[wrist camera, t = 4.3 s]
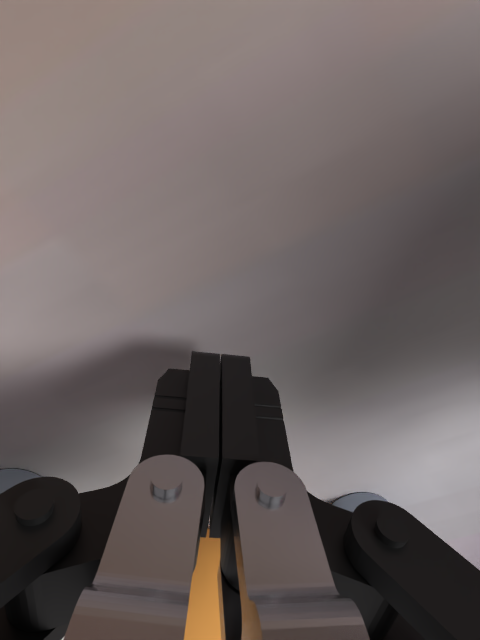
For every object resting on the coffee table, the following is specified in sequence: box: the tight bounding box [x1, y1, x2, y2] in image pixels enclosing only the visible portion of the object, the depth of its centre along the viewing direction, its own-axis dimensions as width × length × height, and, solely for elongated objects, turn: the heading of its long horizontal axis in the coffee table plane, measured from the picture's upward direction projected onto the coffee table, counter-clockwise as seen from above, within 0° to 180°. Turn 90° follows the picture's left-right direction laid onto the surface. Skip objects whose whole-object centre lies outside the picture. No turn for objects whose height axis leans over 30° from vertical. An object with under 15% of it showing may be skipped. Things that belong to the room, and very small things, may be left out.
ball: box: [184, 529, 221, 640], centre depth 14 cm, size 6×6×6 cm
